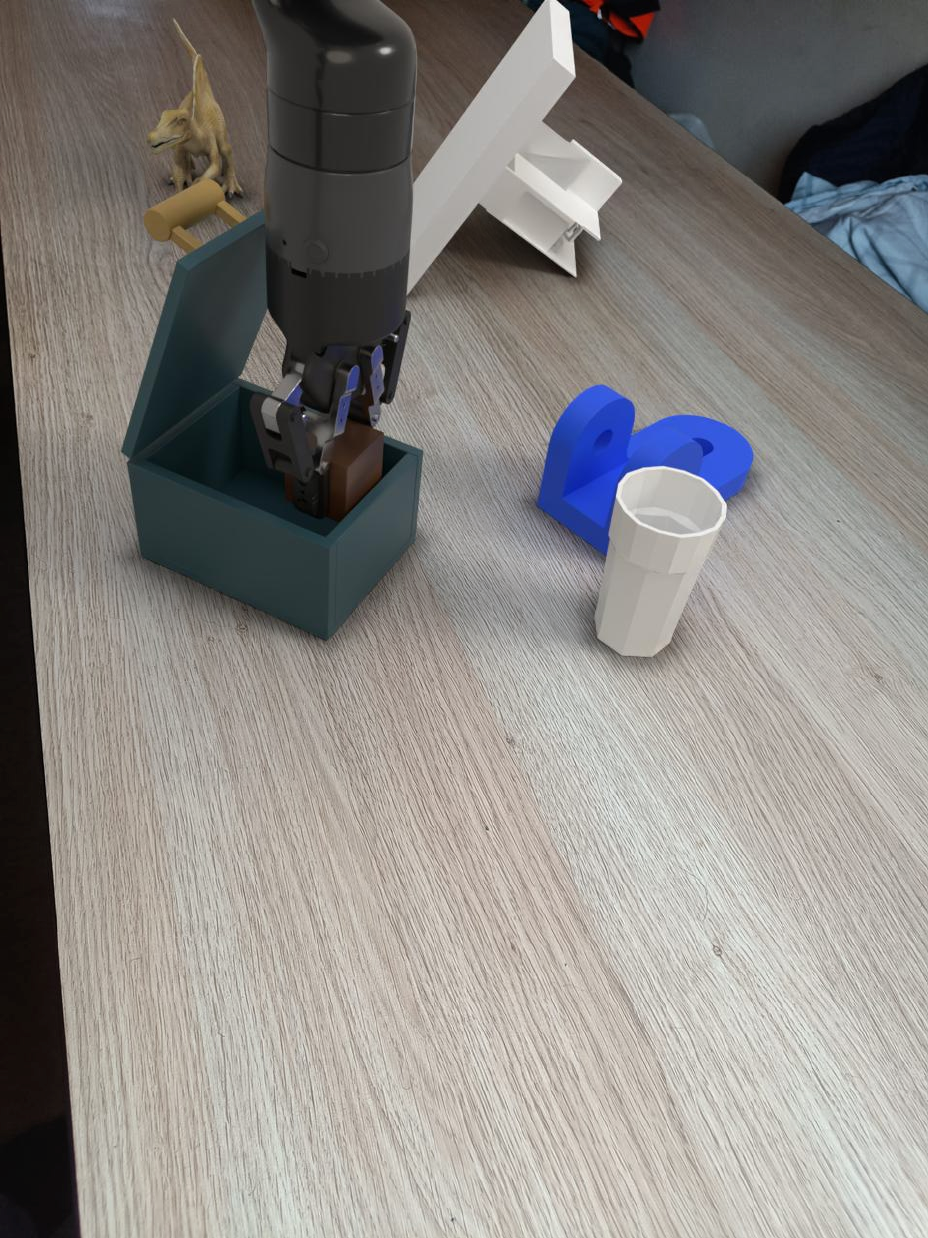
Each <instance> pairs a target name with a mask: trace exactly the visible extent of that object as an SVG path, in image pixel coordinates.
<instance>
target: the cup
mask: <svg viewBox="0 0 928 1238" xmlns="http://www.w3.org/2000/svg"><path fill="white" fill-rule="evenodd" d="M727 505H728V504H727V503H726V500H725V501H724V499H723V498H722V496H721V495H720V493H719V492H718V491H717V490H716V489H715V488H714V487H713V486H712V485H710V484H709V483H708V482H707V481H706V480H705V479H703V478H701V477H698V476H696V475H694V474H691V473H689V472H686V471H684V470H679V469H674V468H670V467H665V466H657V467H645V468H641V469H638V470H635V471H632V472H629V473H627V474H626V475H625V476H624V478H623V479H622V480H621V481H620V482H619V484H618V488H617V493H616V498H615V504H614V509H613V514H612V519H611V524H610V529H609V534H608V536H609V538H610V541H609V546H608V551H607V556H605V563H604V568H603V574H602V578H601V584H600V587H599V588H600V589H599V594H598V599H597V604H596V609H595V613H594V624H595V630H596V637H597V639H598V640H599V641H601V642H602V643H603V644H605V645H606V646H608V647H609V648H610V649H612V650H613V651H614V652H616V653H617V654H619V655H620V656H625V657H626V656H627V657H640V658H641V657H644V658H653V657H654V656H656V655H657V654H658V653H659V652H660V651H662V650H663V649H664V648H665V647H666V646H668V645H669V644H670V643H671V641H672V638H673V636H674V632H675V630H676V628H677V626H678V623H679V621H680V618H681V617H682V614H683V613H684V609H685V608H686V605H687V603H688V600H689V599H690V596H691V594H692V591H693V589H694V588H695V585H696V582H697V579H698V577H699V575H700V573H701V571H702V568H703V566H704V565H705V563H706V562H707V561H708V558H709V557H710V555H712V550H713V549H714V546H715V544H716V542H717V540H718V538H719V535H720V532H721V530H722V528H723V526H724V524H725V520H726V518H727V508H728V506H727Z"/></svg>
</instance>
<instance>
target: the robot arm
mask: <svg viewBox="0 0 928 1238" xmlns="http://www.w3.org/2000/svg"><path fill="white" fill-rule="evenodd" d="M250 1H251V4H252V8H253V11H254V14H255V18H256V20H257V21H256V22H257V24H258V27H259V30H260V35H261V38H262V41H263V45H264V52H265V81H266V82H265V85H266V86H265V87H266V88H265V89H266V117H267V118H266V121H267V125H266V127H267V143H266V145H267V146H266V148H267V149H266V160H265V169H264V177H263V209H264V215H265V249H266V285H267V307H268V309H267V312H268V314H269V316H270V317H271V319H272V320H273V321H274V323H275V324H276V326H277V327H278V329H279V330H280V332H281V333H282V335H283V337H284V338H285V341H286V343H285V352H284V354H283V355H284V356H283V359H282V362H281V376H282V380H281V381H280V382H279V383H278V385H277V386H276V387H275V389H274V390H272V391H273V393H272V394H271V395H268V394H265V393H263V392H260V391H257V392H256V393H255V394H254V395H253V396H252V398H251V401H250V412H251V415H252V418H253V421H254V425H255V428H256V431H257V434H258V438H259V441H260V444H261V447H262V451H263V454H264V457H265V460H266V464H267V466H268V468H271V469H273V470H275V471H280V472H282V473H285V474H287V475H289V476H292V479H293V505H294V507H295V508H296V509H297V510H298V511H300V512H302V513H305V514H307V515H309V516H312V517H314V518H316V519H323V518H324V517H325V516H326V515H327V514H328V513H329V511H330V468H329V466H330V462H331V457H332V451H333V446H334V441H335V438H336V437H339V436H341V435H342V434H343V433H344V430H345V425H346V419H347V418H349V419H351V420H354V421H356V422H359V423H361V424H364V425H367V426H369V427H372V428H375V427H376V426H377V425H378V423H379V422H380V419H381V415H382V410H381V406H382V405H383V404H385V405H388V406H389V405H390V404H392V402H393V400H394V398H395V396H396V392H397V386H398V382H399V377H400V373H401V368H402V363H403V359H404V353H405V348H406V344H407V339H408V334H409V330H410V325H411V320H412V312H411V310H408V309H407V298H408V297H407V296H408V295H407V284H408V270H409V256H410V241H411V227H412V213H413V184H414V176H413V162H412V159H413V158H412V156H413V155H412V153H413V151H412V149H413V141H414V140H413V139H414V125H415V112H416V111H415V110H416V98H417V97H416V95H417V94H416V93H417V79H418V51H417V43H416V39H415V36H414V34H413V31H412V29H411V28H410V26H409V25H408V24H407V22H406V21H405V20H404V19H403V18H402V17H400V15H398V14H396V12H395V11H393V10H392V9H391V8H389V7H388V6H387V5H386V4H384V2H382V1H381V0H250ZM382 365H383V367H384V372H383V370H382ZM383 373H384V374H383ZM304 405H305V406H306V407H308V408H311V409H313V410H316V411H319V412H321V413H324V414H330V415H329V419H326V418H324V417H321V416H319V415H316V414H314V413H311V412H309V411H307V410H306V409H305V407H304ZM306 432H308V433H311V434H313V435H315V436H316V437H317V447H316V450H314V449H312V448H310V447H309V443H308V439H307V435H306Z"/></svg>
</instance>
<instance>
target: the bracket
mask: <svg viewBox="0 0 928 1238" xmlns="http://www.w3.org/2000/svg"><path fill="white" fill-rule="evenodd" d="M635 421H636V408H635V405H634V403H633V402H632V401H631V400H630V399H629V398H627V397H625V396H623V395H622V394H621V393H619V392H618V391H615V390H614V389H613V388H611V387H609V386H608V385H606V384H595V385H592V386H590V387H588V388H586V389H585V390H583V391H582V392H580V393H579V394H578V395H577V396H576V397H574V399H573V400H572V401H571V402H570V403H569V404H568V405H567V407H566V408H565V409H564V410H563V411H562V413H561V415H560V416H559V418H558V420H557V422H556V423H555V425H554V428H553V430H552V432H551V435H550V438H549V441H548V446H547V451H546V456H545V460H544V461H545V462H544V467H543V471H542V477H541V482H540V486H539V492H538V496H537V497H538V498H537V502H536V506H537V507H538V508H539V509H540V510H541V511H544V513H546V514H548V515H549V516H550V517H551V518H553V519H554V520H556V521H557V522H558V523H560V524H561V525H563V526H564V527H566V528H567V529H568V530H570V531H571V532H572V533H574V534H575V535H577V536H578V537H579V538H581V539H582V540H583V541H585V542H586V543H587V544H589V545H590V546H592V547H593V548H594V549H596V550H597V551H598V552H600V553H601V554H603V555H604V556H605V557H607V551H608V546H609V541H610V538H609V536H608V534H609V529H610V524H611V519H612V514H613V509H614V504H615V498H616V493H617V488H618V484H619V482H620V481H621V480H622V479H623V478H624V476H625V475H626V474H627V473H629V472H632V471H635V470H638V469H641V468H645V467H657V466H665V467H670V468H674V469H679V470H684V471H686V472H689V473H691V474H694V475H696V476H698V477H701V478H703V479H705V480H706V481H707V482H708V483H709V484H710V485H712V486H713V487H714V488H715V489H716V490H717V491H718V492H719V493H720V495H721V496H722V498H723V499H724V501H725V502H726V501H727V500H728V499H730V498H731V497H733V496H735V495H736V494H738V493H739V492H740V491H742V489H743V488H744V486H745V483H746V482H747V481H746V480H747V477H748V476H749V472H750V470H751V468H752V465H753V462H754V451H753V447H752V446H751V444H750V442H749V441H748V440H747V439H746V437H745V436H744V435H743V434H741V433H740V432H739V431H738V430H736V429H735V428H733V427H731V426H730V425H728V424H726V423H724V422H721V421H719V420H717V419H713V418H710V417H706V416H702V415H695V414H675V415H670V416H667V417H664V418H660V419H659V420H657V421H655V422H654V423H652V424H650V425H647V426H646V427H644V428H642V429H640V430H639V431H636V432H634V433H633V429H634V426H635Z"/></svg>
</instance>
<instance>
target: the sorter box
mask: <svg viewBox="0 0 928 1238" xmlns="http://www.w3.org/2000/svg"><path fill="white" fill-rule="evenodd" d="M257 391H260V392H263V393H265V394H268V395H271V394H272V393H273V391H274V390H271V389H268V388H266V387H263V386H261V385H258V384H255V383H253V382H250V381H248V380H245V379H243V378H240V377H238V378H237V379H235V380H234V381H233V382H231V383H230V384H229V385H227V386H226V387H225V388H223V389H222V390H221V391H220V392H218V393H217V394H216V395H214V396H213V397H212V398H210V399H209V400H208V401H206V402H205V403H204V404H202V405H201V406H200V407H199V408H197V409H196V410H195V411H193V412H192V413H191V414H189V415H188V416H187V417H185V418H184V419H183V420H182V421H180V422H179V423H178V424H176V425H175V426H174V427H172V428H171V429H170V430H168V431H167V432H166V433H165V434H163V435H162V436H161V437H159V438H158V439H157V440H155V441H154V442H153V443H151V444H150V445H149V446H148V447H146V448H145V449H144V450H142V451H141V452H140V453H138V454H137V455H136V456H134V457H133V458H132V459H128V460H127V461H126V467H127V474H128V479H129V480H128V481H129V486H130V492H131V493H130V494H131V499H132V500H131V501H132V507H133V514H134V520H135V526H136V533H137V534H136V535H137V541H138V546H139V553H140V556H141V557H143V558H145V559H147V560H149V561H152V562H154V563H156V564H159V565H161V566H163V567H165V568H167V569H169V570H172V571H173V572H176V573H178V574H180V575H182V576H185V577H187V578H189V579H191V580H194V581H196V582H198V583H200V584H202V585H205V586H206V587H209V588H211V589H213V590H216V591H218V592H220V593H221V594H224V595H226V596H228V597H230V598H233V599H235V600H237V601H239V602H241V603H244V604H246V605H248V606H250V607H253V608H254V609H256V610H259V611H261V612H263V613H265V614H268V615H270V616H272V617H274V618H277V619H279V620H281V621H283V622H285V623H287V624H289V625H292V626H294V627H296V628H298V629H301V630H302V631H304V632H307V633H310V634H312V635H314V636H316V637H318V638H319V639H320V638H321V639H323V640H325V641H329V640H330V639H331V638H332V637H333V635H335V633H336V632H337V631H338V630H339V629H340V627H341V626H342V625H344V622H346V620H347V619H348V618H349V617H350V616H351V615H352V614H353V612H354V611H355V610H356V608H358V607H359V606H360V604H361V603H362V602H363V601H364V600H365V598H366V597H368V595H369V594H370V593H371V592H372V591H373V590H374V588H375V587H376V586H377V584H378V583H379V582H380V581H382V579H383V578H384V577H385V576H386V574H387V573H388V572H389V571H390V569H392V567H394V565H395V564H396V563H397V562H398V561H399V560H400V558H401V557H402V556H403V555H404V554H405V553H406V551H407V550H408V549H409V548H410V547H411V545H412V544H413V543H414V542H415V541H416V536H417V535H416V534H417V526H418V516H419V515H418V513H419V504H420V492H421V483H422V474H423V473H422V471H423V463H424V462H423V461H424V449H421V448H419V447H416V446H413V445H410V444H408V443H406V442H404V441H401V440H398V439H396V438H393V437H391V436H388V435H385V434H384V444H383V460H382V477H381V481H380V482H379V483H378V484H377V485H376V486H375V487H374V488H373V489H372V490H371V491H370V492H369V493H368V494H367V495H366V496H365V497H364V498H363V499H362V500H361V501H360V502H359V503H358V504H357V505H356V506H355V507H354V508H353V509H352V510H351V511H350V512H349V513H348V514H347V515H346V516H345V518H344V519H343V520H342V521H341V522H340V523H339V522H336V521H334V520H332V519H329V518H327V517H324V518H323V519H316V518H314V517H312V516H309V515H307V514H305V513H302V512H300V511H298V510H297V509H296V508H295V507H294V505H293V503H291V502H289V501H286V500H285V473H282V472H280V471H275V470H273V469H271V468H268V466H267V464H266V460H265V457H264V454H263V451H262V447H261V444H260V441H259V438H258V434H257V431H256V428H255V425H254V421H253V418H252V415H251V412H250V401H251V398H252V396H253V395H254V394H255V393H256V392H257ZM304 407H305V409H306V410H307V411H309V412H311V413H314V414H316V415H317V414H318V413H319V411H316V410H313V409H311V408H308V407H306V406H305V405H304Z"/></svg>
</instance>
